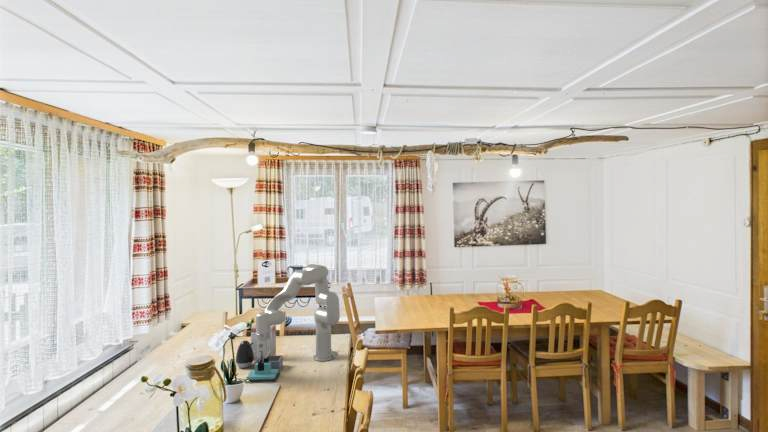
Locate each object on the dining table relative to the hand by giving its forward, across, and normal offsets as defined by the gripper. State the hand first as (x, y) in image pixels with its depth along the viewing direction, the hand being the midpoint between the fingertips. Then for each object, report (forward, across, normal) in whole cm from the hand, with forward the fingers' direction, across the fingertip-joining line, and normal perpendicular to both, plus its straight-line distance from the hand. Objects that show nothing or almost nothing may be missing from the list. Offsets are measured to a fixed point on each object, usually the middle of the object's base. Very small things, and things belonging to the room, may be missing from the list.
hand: (263, 367), depth 207 cm
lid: (+4, 0, 0) cm, 4 cm away
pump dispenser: (+6, +18, +15) cm, 24 cm away
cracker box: (+6, +29, +7) cm, 30 cm away
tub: (+6, +13, 0) cm, 14 cm away
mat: (+6, 0, 0) cm, 6 cm away
